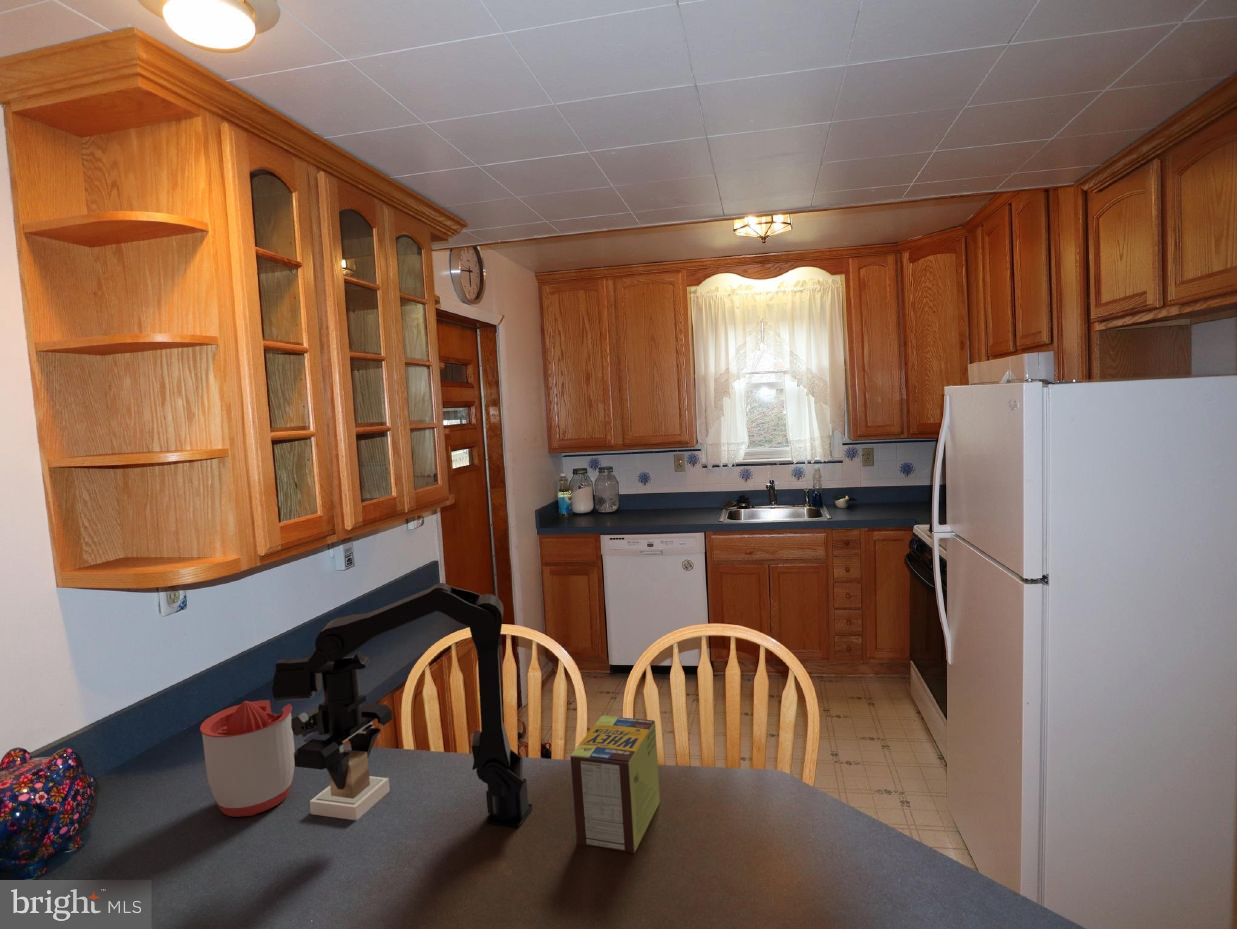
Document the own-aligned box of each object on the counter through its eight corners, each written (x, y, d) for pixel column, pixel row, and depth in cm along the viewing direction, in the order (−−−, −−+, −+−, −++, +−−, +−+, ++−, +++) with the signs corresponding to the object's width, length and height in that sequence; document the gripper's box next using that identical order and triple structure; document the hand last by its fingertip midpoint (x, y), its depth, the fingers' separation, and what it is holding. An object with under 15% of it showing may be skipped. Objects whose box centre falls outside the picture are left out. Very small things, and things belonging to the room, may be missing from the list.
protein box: (660, 802, 128) (656, 719, 127) (635, 854, 114) (629, 762, 112) (606, 794, 132) (601, 714, 130) (574, 845, 117) (568, 754, 116)
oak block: (370, 784, 124) (367, 751, 124) (353, 798, 120) (350, 764, 119) (348, 781, 125) (345, 749, 125) (331, 795, 121) (327, 762, 121)
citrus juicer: (325, 783, 142) (315, 686, 140) (247, 832, 126) (236, 724, 124) (270, 770, 148) (260, 677, 147) (190, 815, 133) (178, 712, 131)
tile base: (389, 790, 137) (388, 777, 137) (356, 820, 128) (355, 806, 128) (346, 785, 140) (345, 772, 140) (310, 814, 131) (309, 800, 131)
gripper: (338, 670, 132) (346, 751, 134) (262, 714, 115) (271, 806, 116) (390, 674, 129) (397, 756, 130) (319, 719, 111) (328, 814, 113)
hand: (350, 781), depth 122 cm, fingers closed on oak block, 4 cm apart
